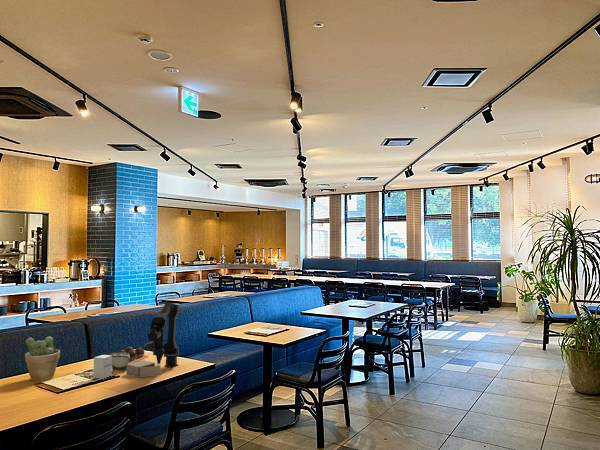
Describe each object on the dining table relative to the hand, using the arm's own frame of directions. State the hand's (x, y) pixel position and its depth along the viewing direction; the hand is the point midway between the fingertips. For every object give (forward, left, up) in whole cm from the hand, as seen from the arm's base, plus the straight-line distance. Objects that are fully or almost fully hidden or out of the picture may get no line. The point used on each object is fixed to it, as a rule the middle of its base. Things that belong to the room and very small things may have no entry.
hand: (158, 363), depth 272 cm
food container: (+4, -31, -8) cm, 32 cm away
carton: (+3, -13, -8) cm, 15 cm away
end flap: (+4, -3, -7) cm, 9 cm away
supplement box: (+21, -25, -8) cm, 34 cm away
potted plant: (+42, -53, -8) cm, 68 cm away
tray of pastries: (-10, -47, -8) cm, 48 cm away
